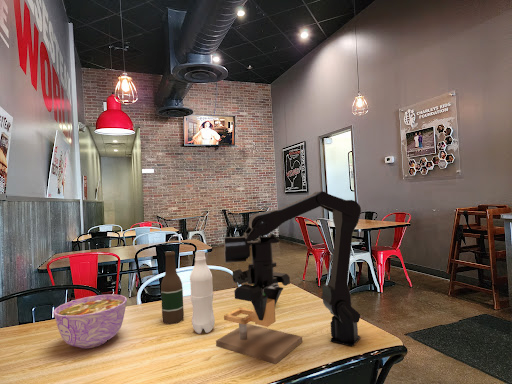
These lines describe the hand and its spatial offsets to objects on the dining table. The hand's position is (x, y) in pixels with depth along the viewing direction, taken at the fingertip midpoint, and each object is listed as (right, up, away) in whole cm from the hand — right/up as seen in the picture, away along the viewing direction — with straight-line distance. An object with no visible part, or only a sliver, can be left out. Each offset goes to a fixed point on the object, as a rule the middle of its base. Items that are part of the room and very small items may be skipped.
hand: (265, 317), depth 87 cm
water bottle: (-19, -10, +15) cm, 27 cm away
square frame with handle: (-4, -2, +3) cm, 5 cm away
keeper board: (-2, -9, +4) cm, 10 cm away
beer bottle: (-32, -11, +25) cm, 42 cm away
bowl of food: (-52, -12, +11) cm, 55 cm away
